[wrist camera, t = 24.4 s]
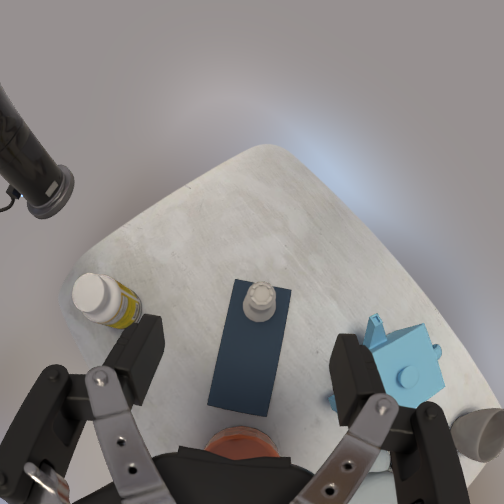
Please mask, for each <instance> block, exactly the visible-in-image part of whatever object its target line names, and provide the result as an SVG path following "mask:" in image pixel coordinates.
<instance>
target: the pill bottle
mask: <svg viewBox="0 0 504 504" xmlns="http://www.w3.org/2000/svg"><path fill="white" fill-rule="evenodd" d="M72 299H73V302H74V304H75V306H76V307H77V308H78V309H79V310H80V311H82V312H83V314H84V315H85V316H86V317H87V318H88V319H89V320H91V321H93V322H96V323H99V324H103V325H106V326H110V327H113V328H117V329H125V328H126V327H128V326H129V325H131V324H132V323H136V322H137V321H138V319H139V317H140V314H141V303H140V300H139V298H138V296H137V295H136V294H135V293H134V292H133V291H131V290H130V289H128V288H127V287H125V286H124V285H122V284H121V283H119V282H118V281H116V280H115V279H113V278H111V277H110V276H107V275H103V274H100V275H96V274H93V273H86V274H84V275H82V276H80V277H79V278H78V279H77V280H76V282H75V284H74V286H73V290H72Z"/></svg>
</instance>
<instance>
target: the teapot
mask: <svg viewBox="0 0 504 504" xmlns="http://www.w3.org/2000/svg"><path fill="white" fill-rule="evenodd" d="M382 323H383V322H382V320H381V319H380V317H379V315H378V313H376V314H374V315H372V316H370V317H369V321H368V325H367V329H366V333H365V337H364V341H363V345H365V346H366V347H367V348H368V349H369V350H370V351H371V352H372V355H373V357H374V360H375V363H376V365H377V369H378V371H379V374H380V377H381V379H382V382H383V385H384V388H385V391H386V394H388V395H390V396H392V397H393V398H394V399H395V400H396V401H397V403H398V405H400V406H404V407H410V408H416V407H418V406H419V405H420V404H421V403H423V402H425V401H427V400H428V399H429V398H431V397H432V396H433V395H435V394H436V393H437V392H439V391H440V390H441V389H443V388H444V387H445V384H444V381H443V377H442V374H441V370H440V367H439V364H438V359H439V358H440V357H441V355H442V350H441V347H440V346H439V345H438V344H434V345H432V343H431V340H430V337H429V335H428V332H427V329H426V327H425V324H424V323H422V324H419V325H415V326H412V327H408V328H405V329H401V330H397V331H394V332H392V333H390V334H388V335H387V336H386V335H385V331H384V328H383V324H382ZM328 399H329V402H330V404H331V407H332V410H334V411H335V412H337V408H336V402H335V396H334V395H332V396H331V397H329V398H328Z"/></svg>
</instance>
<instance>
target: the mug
mask: <svg viewBox="0 0 504 504" xmlns="http://www.w3.org/2000/svg"><path fill="white" fill-rule="evenodd" d="M450 432H451V435H452V438H453V441H454V444H455V447H456V449H457V450H458V451H459V452H460V453H462V454H463V455H464V456H466V457H468V458H470V459H472V460H475V461H478V462H484V463H485V462H489V461H491V460H493V459H494V458H496V457H498V456H499V454H500V452H501V451H502V449H503V448H504V409H500V408H492V409H482V410H478V411H474V412H471V413H469V414H467V415H465V416H461V417H459V418H458V419H457V420H456V421H455V422H454V424H453V425H452V427H451V430H450Z"/></svg>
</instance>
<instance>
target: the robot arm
mask: <svg viewBox="0 0 504 504" xmlns="http://www.w3.org/2000/svg"><path fill="white" fill-rule="evenodd" d="M0 174H1V176H2V177H3V178H4V179H5V180H6V181H7V182H8V183H9V184H10V185H9V187H8V189H7V191H6V193H7V194H8V195H9V196H10V197H11V199H12V201H11V203H10V204H9V206H7V207H5V208H2V209H0V212H3V211H6V210H8V209H10V208H11V207H12V205H13V204H14V201H15V199H19V198H20V196H22V197H24V198H25V199H26V200H27V201H28V202H29V203H30V204H31V205H32V206H33V207H34V208H35V209H44V208H46V207H48V206H50V205H51V204H52V203H53V202H54V201H55V200H56V199H57V198H58V197H59V195H60V194H61V192H62V190H63V188H64V185H65V174H64V172H63V171H62V170H61V169H60V168H59V167H58V166H57V164H56V163H55V162H54V160H53V159H52V158H51V157H50V155H49V154H48V153H47V151H46V150H45V149H44V148H43V146H42V145H41V144H40V142H39V141H38V139H37V138H36V137H35V135H34V134H33V133H32V131H31V130H30V129H29V127H28V126H27V124H26V123H25V122H24V120H23V119H22V118H21V116H20V114H19V113H18V111H17V110H16V109H15V107H14V106H13V104H12V102H11V101H10V99H9V98H8V96H7V95H6V93H5V91H4V89H3V87H2V86H1V84H0ZM164 348H165V340H164V333H163V325H162V318H161V316H156V315H150V314H144V315H143V316H142V318H141V320H140V321H139V323H132V324H131V325H129V326H128V327H126V328H125V329H124V331H123V332H122V334H121V336H120V338H119V339H118V340H117V343H116V344H115V345H114V347H113V349H112V350H111V352H110V353H109V355H108V357H107V358H106V360H105V362H104V363H103V365H102V366H97V367H94V368H92V369H91V370H89V371H88V373H87V374H84V375H83V374H80V375H79V374H69V373H68V371H67V369H66V368H65V367H64V366H62V365H58V364H55V365H50V366H48V367H46V368H45V369H44V370H43V371H42V373H41V374H40V376H39V377H38V379H37V380H36V382H35V384H34V385H33V387H32V389H31V390H30V392H29V393H28V395H27V397H26V398H25V400H24V402H23V404H22V405H21V407H20V409H19V411H18V413H17V414H16V416H15V418H14V420H13V422H12V423H11V425H10V427H9V429H8V431H7V433H6V435H5V437H4V439H3V441H2V443H1V445H0V498H2V499H4V500H5V501H6V502H7V503H9V504H70V501H69V492H70V490H69V486H68V483H67V481H66V480H65V479H64V478H65V475H66V472H67V469H68V466H69V463H70V461H71V458H72V456H73V453H74V450H75V448H76V445H77V442H78V440H79V438H80V435H81V433H82V430H83V428H84V426H85V423H86V421H87V420H90V421H93V424H94V427H95V431H96V434H97V437H98V440H99V443H100V446H101V450H102V452H103V455H104V458H105V461H106V464H107V466H108V469H109V471H110V474H111V476H112V479H113V482H111V483H109V484H108V485H106V486H104V487H102V488H100V489H99V490H97V491H95V492H93V493H91V494H89V495H87V496H85V497H83V498H81V499H79V500H78V501H76V502H74V503H72V504H348V503H349V502H350V500H351V499H352V497H353V496H354V494H355V493H356V491H357V490H358V488H359V487H360V485H361V484H362V482H363V481H364V479H365V477H366V476H367V474H368V473H369V471H370V469H371V468H372V466H373V464H374V462H375V461H376V459H377V457H378V455H379V454H380V452H381V450H385V451H390V457H391V463H392V469H393V475H394V482H395V489H396V497H397V504H470V500H469V496H468V491H467V487H466V483H465V479H464V475H463V471H462V468H461V464H460V461H459V457H458V454H457V451H456V447H455V444H454V441H453V438H452V435H451V432H450V429H449V426H448V423H447V420H446V418H445V415H444V412H443V410H442V408H441V407H440V406H439V405H437V404H436V403H434V402H429V401H426V402H423V403H421V404H420V405H419V406H418V407H417V408H410V407H404V406H400V405H398V403H397V401H396V400H395V399H394V398H393V397H392V396H390V395H388V394H386V391H385V388H384V385H383V382H382V379H381V377H380V374H379V371H378V369H377V365H376V363H375V360H374V357H373V355H372V352H371V351H370V350H369V349H368V348H367V347H366V346H365V345H359V342H358V339H357V336H356V335H355V334H338V336H337V339H336V342H335V345H334V348H333V351H332V354H331V357H330V363H329V369H330V375H331V380H332V386H333V391H334V396H335V402H336V408H337V413H338V419H339V425H340V426H348V429H349V430H348V431H347V433H346V434H345V435H344V437H343V438H342V440H341V441H340V442H339V444H338V445H337V447H336V448H335V449H334V451H333V452H332V453H331V455H330V456H329V457H328V459H327V460H326V461H325V463H324V464H323V465H322V466H321V468H320V469H319V470H318V471H317V473H316V474H315V475H314V474H313V473H312V472H310V471H308V470H307V469H305V468H302V467H300V466H297V465H294V464H291V457H267V456H262V457H255V458H248V459H240V460H232V459H229V458H226V457H223V456H220V455H217V454H214V453H212V452H209V451H206V450H200V449H194V448H188V447H183V446H179V449H178V452H172V453H165V454H161V455H158V456H155V457H153V458H152V457H151V455H150V453H149V451H148V449H147V447H146V445H145V443H144V440H143V438H142V436H141V434H140V432H139V429H138V427H137V425H136V422H135V420H134V418H133V415H132V413H131V409H132V406H133V404H135V405H139V406H142V404H143V401H144V399H145V396H146V394H147V391H148V389H149V386H150V384H151V381H152V379H153V377H154V374H155V372H156V369H157V367H158V365H159V362H160V360H161V358H162V355H163V352H164Z"/></svg>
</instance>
